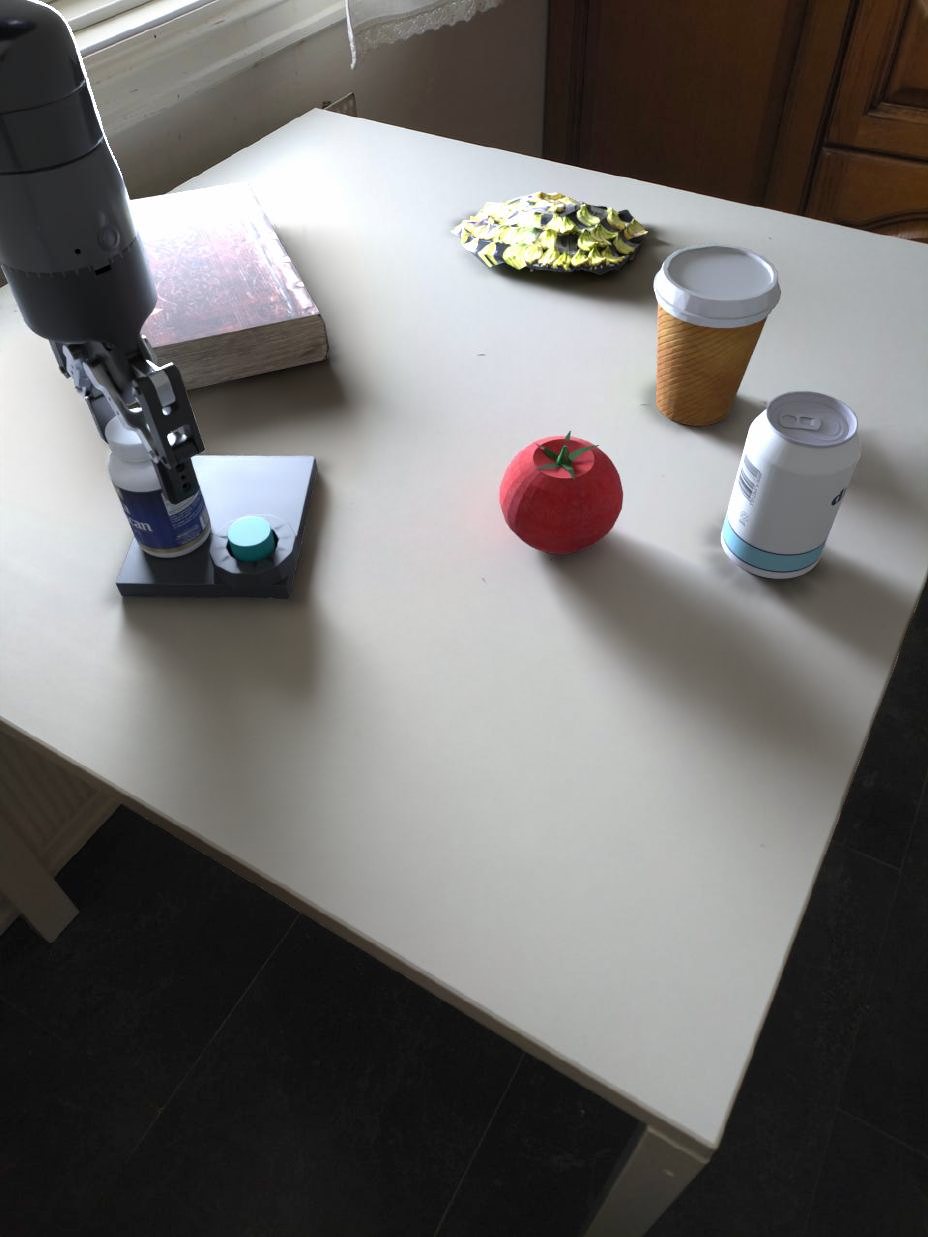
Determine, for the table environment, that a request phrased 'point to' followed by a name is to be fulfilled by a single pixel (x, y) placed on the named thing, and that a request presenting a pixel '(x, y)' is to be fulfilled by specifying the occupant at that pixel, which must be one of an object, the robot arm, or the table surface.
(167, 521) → the pill bottle
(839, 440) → the beverage can
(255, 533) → the button
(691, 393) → the disposable coffee cup
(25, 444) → the table surface
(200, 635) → the table surface
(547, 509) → the tomato
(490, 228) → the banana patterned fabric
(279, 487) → the scale
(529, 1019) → the table surface
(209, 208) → the hardback book
